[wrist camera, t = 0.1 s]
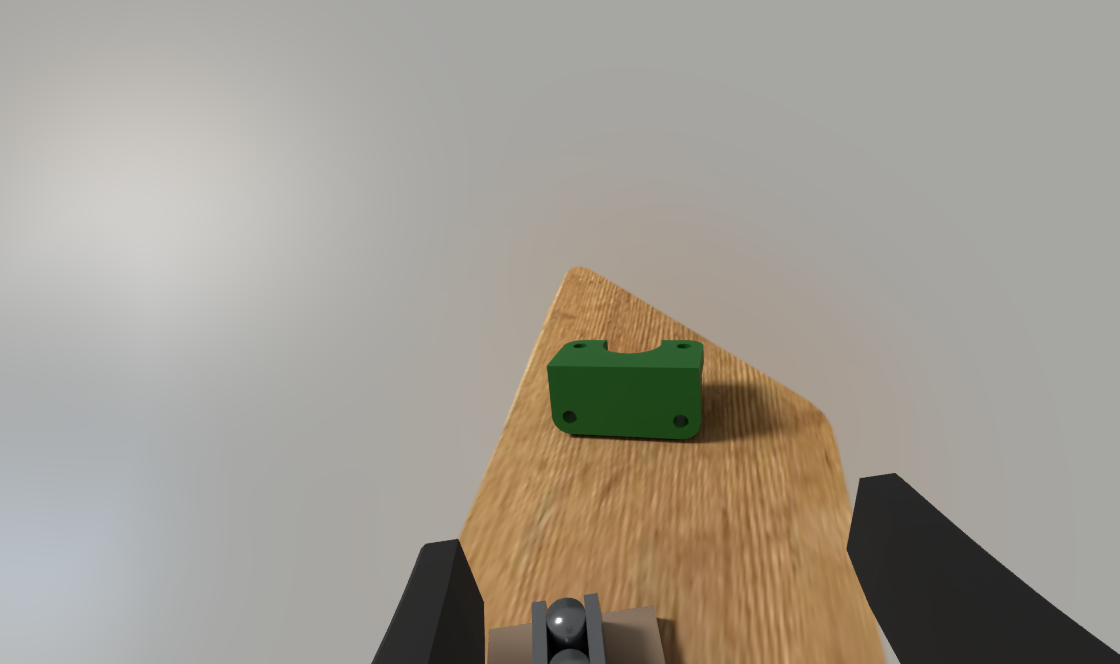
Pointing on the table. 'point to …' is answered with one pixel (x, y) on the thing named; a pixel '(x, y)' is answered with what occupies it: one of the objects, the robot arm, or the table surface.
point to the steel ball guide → (568, 632)
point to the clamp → (627, 390)
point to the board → (627, 646)
